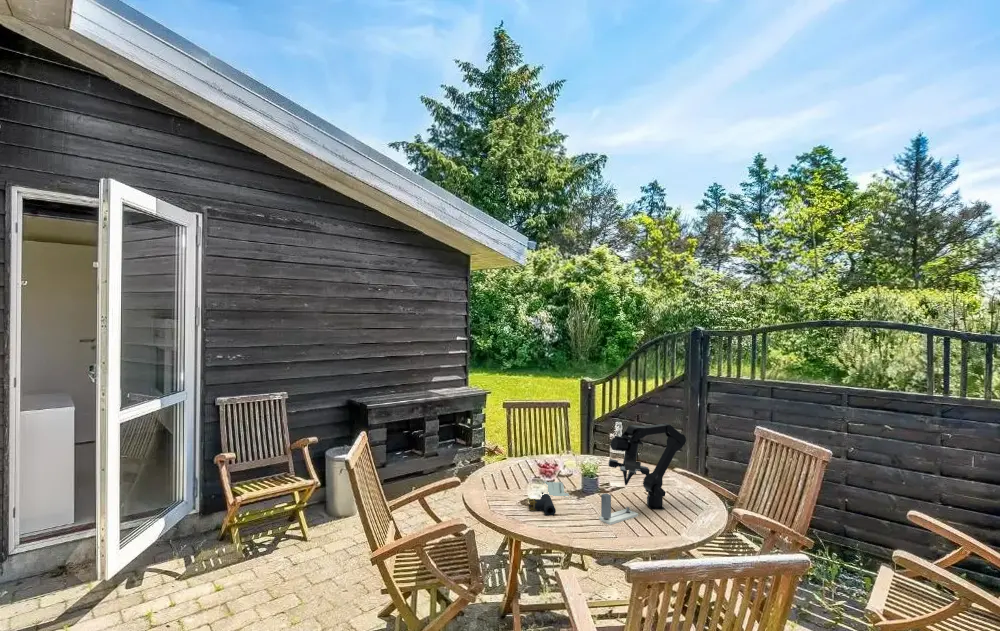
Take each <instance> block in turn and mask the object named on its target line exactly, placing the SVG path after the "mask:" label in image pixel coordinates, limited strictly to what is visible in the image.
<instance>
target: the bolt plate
mask: <svg viewBox="0 0 1000 631" xmlns="http://www.w3.org/2000/svg"><path fill="white" fill-rule="evenodd" d="M637 516H638V517H639V513H638V512H636V511H632V510H630V506H626V508H624V509H621V510H617V511H614V512H611V518H607V519H605V518H603V517H601V515H599V516H598V520H599V521H601V522H603V523H604V524H607V525H609V526H612V525H613V524H619V523H621V522H624V520H625V521H627V519H628V520H631V519H634V518H636V517H637ZM630 518H631V519H630Z"/></svg>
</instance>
